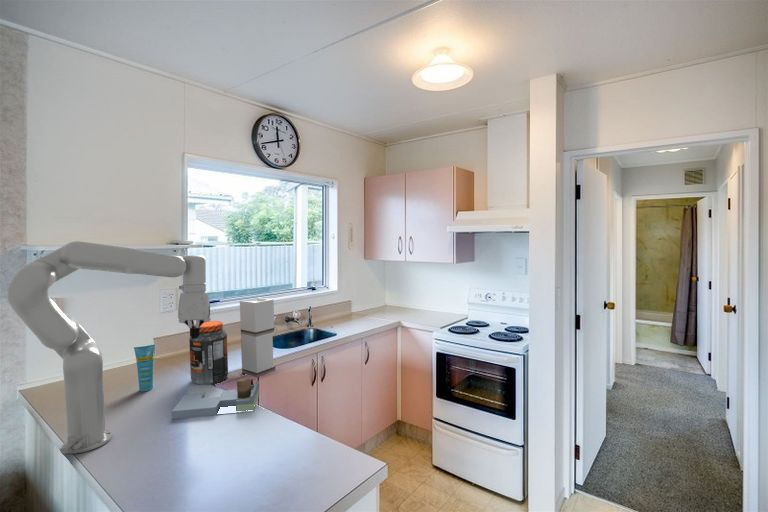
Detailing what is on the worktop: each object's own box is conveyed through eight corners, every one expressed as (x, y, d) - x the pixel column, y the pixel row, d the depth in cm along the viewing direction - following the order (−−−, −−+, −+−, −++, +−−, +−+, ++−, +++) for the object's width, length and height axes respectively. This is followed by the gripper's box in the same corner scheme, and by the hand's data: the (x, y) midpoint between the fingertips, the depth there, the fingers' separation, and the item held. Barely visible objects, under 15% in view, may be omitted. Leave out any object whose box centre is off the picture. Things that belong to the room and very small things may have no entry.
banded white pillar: (275, 370, 184) (273, 299, 182) (257, 377, 175) (254, 302, 173) (260, 366, 190) (258, 297, 189) (242, 372, 182) (239, 300, 180)
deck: (253, 411, 141) (252, 395, 140) (172, 419, 136) (171, 402, 135) (259, 395, 156) (258, 380, 155) (186, 401, 150) (185, 386, 150)
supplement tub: (187, 378, 175) (184, 323, 174) (222, 370, 185) (220, 318, 184) (196, 388, 163) (193, 329, 162) (233, 379, 173) (231, 323, 172)
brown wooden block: (252, 396, 147) (252, 381, 147) (239, 399, 144) (238, 384, 144) (249, 392, 151) (248, 377, 151) (236, 395, 148) (235, 380, 148)
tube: (136, 393, 159) (133, 348, 158) (136, 389, 163) (133, 345, 162) (156, 389, 163) (154, 345, 162) (156, 385, 167) (154, 342, 166)
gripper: (168, 290, 134) (169, 341, 135) (213, 289, 137) (213, 339, 138) (176, 287, 142) (176, 336, 142) (218, 287, 144) (218, 334, 145)
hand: (194, 337), depth 140 cm, fingers closed
